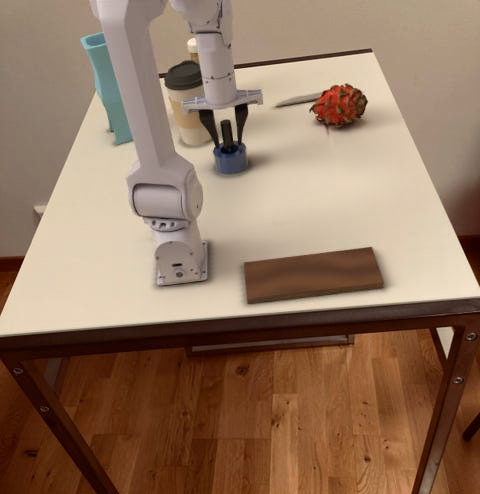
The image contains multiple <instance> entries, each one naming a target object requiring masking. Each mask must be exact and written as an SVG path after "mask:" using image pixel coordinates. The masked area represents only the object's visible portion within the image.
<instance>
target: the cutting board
mask: <svg viewBox="0 0 480 494" xmlns="http://www.w3.org/2000/svg"><path fill="white" fill-rule="evenodd" d="M243 267H244V268H243V270H244V282H245V296H246V303H247V304H248V305H249V304H257V303H266V302H274V301H282V300H283V301H284V300H292V299H300V298H307V297H309V298H310V297H317V296H324V295H325V296H326V295H333V294H342V293H349V292H350V293H351V292H360V291H367V290H368V291H369V290H376V289H383V288H384V285H385V282H384V278H383V276H382V272H381V270H380V267H379V264H378V261H377V258H376V254H375V252H374V249H373V246H367V247H359V248H350V249H342V250H334V251H326V252H318V253H317V252H316V253H308V254H301V255H293V256H285V257H276V258H268V259H261V260H253V261H245V262H243Z"/></svg>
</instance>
